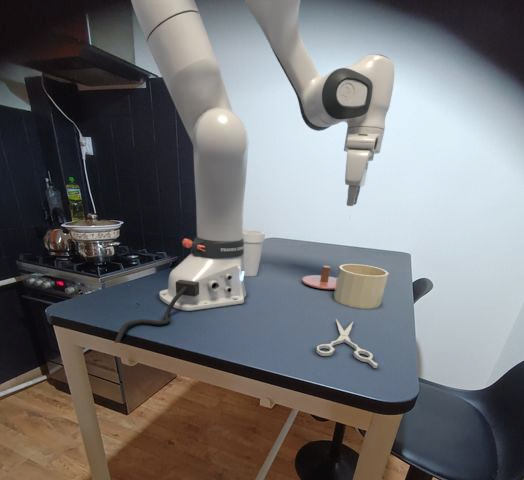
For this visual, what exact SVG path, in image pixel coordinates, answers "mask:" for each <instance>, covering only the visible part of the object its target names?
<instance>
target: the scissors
mask: <svg viewBox="0 0 524 480" xmlns="http://www.w3.org/2000/svg"><path fill="white" fill-rule="evenodd" d="M335 321H336V326H337V329H338V333H339V336H338V338H337V339H336V340H331V342H330V343H322V344H319V345H317V346H316V351H315V352H316V353H317V354H318V355H319V356H322V357H330V356H332V355H333V354H334V353H335V348H334V347H333V346H336V345H338V344H342V343H343V344H344V343H345V344H347V345H349V346H350V347H351V348H353V349H354V351H353V357H354V358H355V359H357V360H358V361H360V362H364V363H367V364H369V365H370V366H371V367H372V369H377V368H378V365H379V364H378V363H377V362H375V361H374V360H373V357H374V355H373V353H372V352H370V351H368V350H366V349H363V348H361V347H359V345H358V344H356V343H354V342H352V341H351V338H350V336H349V335H350V332H351V331H352V327H353V325H354V321H352V322H351V323H350V324H349V325H348V326H347V327H346V329H345V330H344V328H343V327H342V325H341V323H340V322H339V320H338V319H337V318H335ZM321 349H326V350H328V351H323V350H321ZM360 354H361V355H364V356H367V357H364V356H361V355H360Z"/></svg>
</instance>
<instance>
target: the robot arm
mask: <svg viewBox="0 0 524 480" xmlns="http://www.w3.org/2000/svg"><path fill="white" fill-rule="evenodd" d="M243 2H244V4H245V6H246V7H247V8H248V10H249V12H250V13H251V15H252V17H253V18H254V19H255V21H256V23H257V24H258V26H259V27H260V30H261V31H262V33H263V35H264V37H265V39H266V40H267V42H268V44H269V46H270V49H271V50H272V53H273V54H274V56H275V58H276V60H277V62H278V63H279V65H280V67H281V70H282V71H283V72H284V74H285V77H286V78H287V80H288V82H289V84H290V85H291V87H292V89H293V91H294V93H295V95H296V98H297V102H298V107H299V110H300V111H299V112H300V115H301V118H302V120H303V122H304V123H305V125H306V126H307V127H308V128H310V129H311V130H313V131H317V132H318V131H319V132H320V131H325V130H327V129H329V128H331V127H332V126H335V125H338V124H340V123H342V122H343V123H346V124H347V128H346V133H345V141H344V147H343V151H344V152H346V161H345V162H346V163H345V172H344V173H345V174H344V184H345V185H347V186H348V189H347V198H346V206H347V207H353V206H355V205H357V203H358V198H359V195H360V191H361V187H364V186H365V183H366V179H367V173H368V170H369V169H368V168H369V164H370V162H372V161H374V157H375V155H377V154H380V153H381V149H382V143H383V139H384V135H385V129H386V117H387V114H388V113H389V109H390V107H391V101H392V96H393V91H394V90H393V89H394V85H395V66H394V63H393V61H392V60H391V59H390V58H389V57H387V56H385V55H383V54H379V53H370V54H366V55H364V56H363V57H362V58H361V59H360V60H358V61H357V62H354V63H353V64H351V65H348V66H345V67H340V68H337V69H334V70H332V71H330V72H328V74H326V75H324V76H322V75H321V74H320V73H319V72H318V70H317V68H316V67H315V64H314V62H313V60H312V58H311V56H310V54H309V51H308V50H307V48H306V45H305V44H304V42H303V39H302V36H301V32H300V25H299V24H300V23H299V17H300V16H299V15H300V5H301V0H243ZM130 3H131V5H132V8H133V10H134V14H135V16H136V19H137V22H138V24H139V27H140V30H141V32H142V34H143V37H144V39H145V42H146V43H147V46H148V48H149V50H150V53H151V55H152V57H153V60H154V62H155V65H156V66H157V68H158V71H159V73H160V75H161V77H162V79H163V82H164V84H165V86H166V89H167V91H168V93H169V95H170V98H171V101H172V102H173V105H174V106H175V108H176V111H177V113H178V115H179V117H180V119H181V122H182V124H183V126H184V128H185V130H186V134H187V135H188V137H189V139H190V141H191V144H192V147H193V149H192V151H193V152H192V153H193V173H194V189H195V190H194V191H195V213H196V217H195V218H196V236H195V238H194V240H193V241H192V239H189V238H184V239H183V240H182V241H181V243H182V246H183V247H184V248H187V249H190V253H189V255H187V256H186V257H185V258H184V259H183V260H182V261H181V262H180V263H178V265H176V267H174V268H173V269H172V270H171V271H170V273H169V276H168V283H167V289H163V290H160V291H159V294H158V297H159V299H160V300H161V301H162V302H163V303H164V304H166V305H168V306H167V308H166V310H165V313H164V315H163V320H153V319H147V318H140V319H134V320H130V321H127V322H125V323H124V324H123V325H121V327H120V329H119V331H118V333H117V335H116V337H115V340H114V343H115V344H119V343H120V342H122V339H123V338H124V335H125V332H126V331H127V329H128V328H130V327H134V326H137V325H150V326H165V325H168V324H169V323H170V322H171V319H170V317H169V316H170V314H171V312H172V310H173V308H174V309H178V310H181V311H187V312H190V311H198V310H205V309H213V308H220V307H227V306H234V305H242V304H245V298H246V296H247V291H246V286H245V281H244V277H245V276H244V271H243V270H242V256H243V254H244V240H243V239H242V233H243V230H244V206H245V205H244V204H245V193H246V184H247V170H248V157H249V135H248V131H247V129H246V126H245V124H244V122H243V120H242V119H241V118H240V117H239V116H238V114H236V113H235V112H234V111H233V108H232V106H231V102H230V99H229V96H228V92H227V89H226V85H225V82H224V79H223V76H222V72H221V68H220V65H219V62H218V60H217V57H216V54H215V52H214V50H213V49H214V48H213V46H212V44H211V41H210V38H209V35H208V33H207V30H206V28H205V25H204V22H203V19H202V17H201V14H200V12H199V8H198V7H197V4H196V3H197V2H196V1H195V0H130Z"/></svg>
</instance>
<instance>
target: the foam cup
mask: <svg viewBox="0 0 524 480" xmlns="http://www.w3.org/2000/svg"><path fill="white" fill-rule="evenodd" d="M265 235H266V233H265V232H264V231H261V230H255V229H243V233H242V239H243V240H244V254H243V256H242V270H243V271H244V277H254V276H255V277H256V276H257V275H258V273H259V266H260V262H261V256H262V252H263V247H264V242H265V237H266V236H265Z"/></svg>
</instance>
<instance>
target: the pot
mask: <svg viewBox="0 0 524 480" xmlns="http://www.w3.org/2000/svg"><path fill="white" fill-rule="evenodd" d="M389 275H390V273H389V272H388V271H387V270H386V269H383V268H381V267H378V266H377V267H376V266H373V265H367V264H359V263H344V264H341V265H339V266H338V270H337V275H336V278H337V280H336V286H335V289H334V291H333V299H334V301H336V302H337V303H339V304H341V305H344V306H346V307H350V308H354V309H363V310H364V309H365V310H371V309H378V308H379V307H381V305H382V301H383V297H384V293H385V290H386V286H387V282H388V279H389Z"/></svg>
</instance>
